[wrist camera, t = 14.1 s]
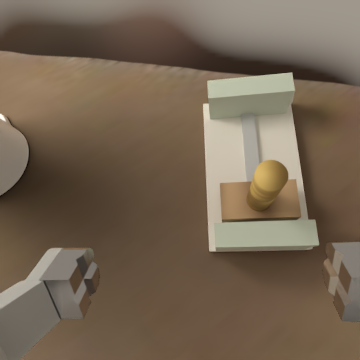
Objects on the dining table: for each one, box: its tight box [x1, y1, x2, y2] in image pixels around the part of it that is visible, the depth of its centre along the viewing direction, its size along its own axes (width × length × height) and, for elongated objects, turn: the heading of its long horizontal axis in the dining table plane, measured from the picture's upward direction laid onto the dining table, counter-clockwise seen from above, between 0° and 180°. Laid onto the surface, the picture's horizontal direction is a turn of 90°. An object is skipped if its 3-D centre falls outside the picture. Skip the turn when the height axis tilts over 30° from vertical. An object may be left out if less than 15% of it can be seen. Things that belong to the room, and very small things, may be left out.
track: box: [203, 73, 319, 252], centre depth 41 cm, size 14×24×8 cm, turn 1°
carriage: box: [220, 160, 301, 223], centre depth 34 cm, size 10×5×13 cm, turn 91°
